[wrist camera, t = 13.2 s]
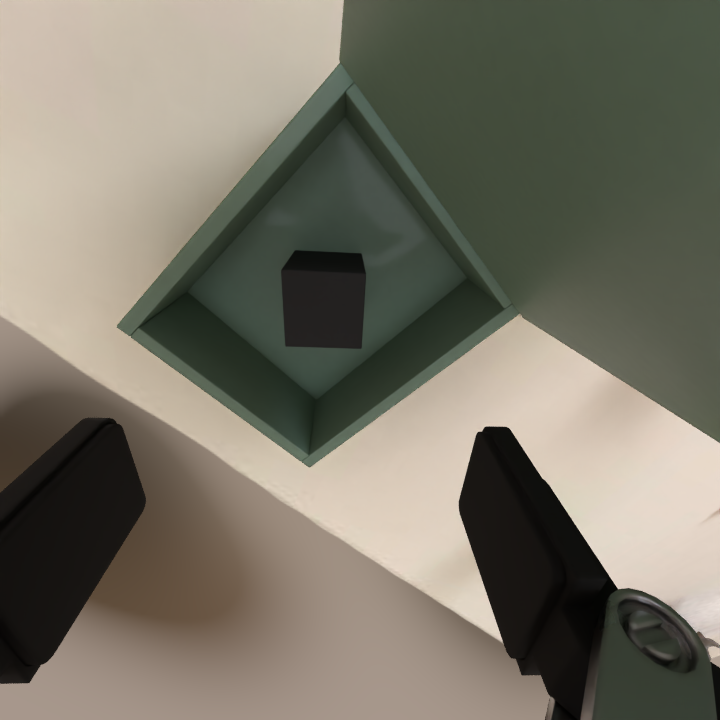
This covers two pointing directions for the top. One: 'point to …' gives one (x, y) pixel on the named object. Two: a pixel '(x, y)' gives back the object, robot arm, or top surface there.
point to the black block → (323, 299)
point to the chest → (328, 234)
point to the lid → (571, 165)
